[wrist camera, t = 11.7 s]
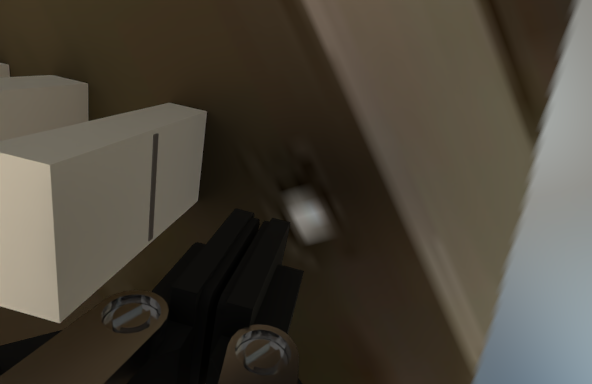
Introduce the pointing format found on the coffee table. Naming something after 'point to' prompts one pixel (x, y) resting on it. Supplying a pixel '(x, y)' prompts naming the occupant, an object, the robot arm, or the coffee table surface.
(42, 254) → the domino
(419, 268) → the coffee table surface
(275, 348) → the robot arm
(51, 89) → the domino
